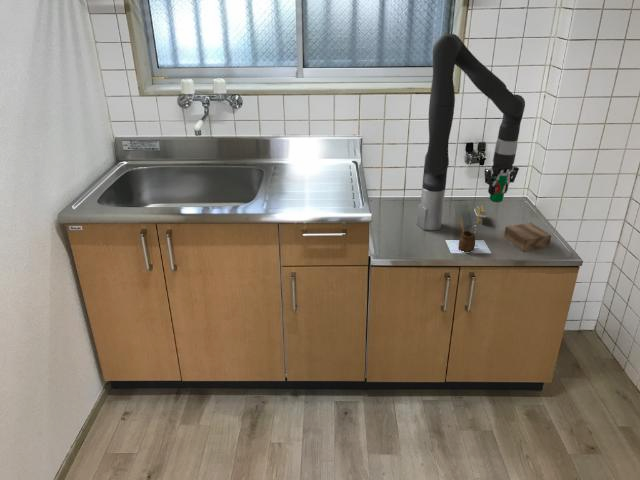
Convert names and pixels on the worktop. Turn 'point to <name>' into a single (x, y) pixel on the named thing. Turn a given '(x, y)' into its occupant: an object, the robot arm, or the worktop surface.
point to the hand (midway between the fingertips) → (497, 193)
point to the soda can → (499, 188)
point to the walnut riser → (527, 236)
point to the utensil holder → (466, 240)
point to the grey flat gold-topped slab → (480, 214)
